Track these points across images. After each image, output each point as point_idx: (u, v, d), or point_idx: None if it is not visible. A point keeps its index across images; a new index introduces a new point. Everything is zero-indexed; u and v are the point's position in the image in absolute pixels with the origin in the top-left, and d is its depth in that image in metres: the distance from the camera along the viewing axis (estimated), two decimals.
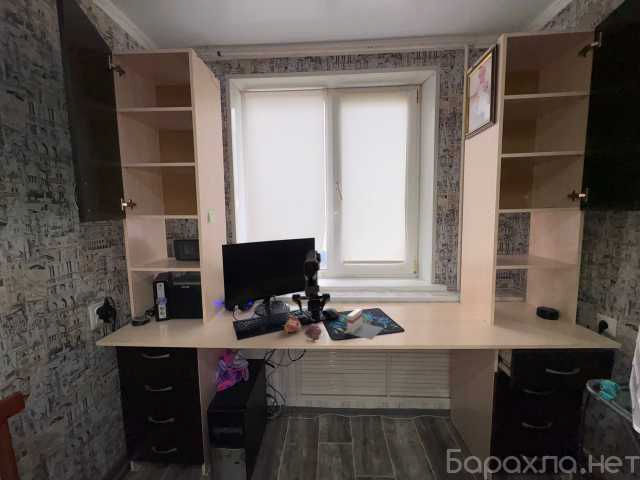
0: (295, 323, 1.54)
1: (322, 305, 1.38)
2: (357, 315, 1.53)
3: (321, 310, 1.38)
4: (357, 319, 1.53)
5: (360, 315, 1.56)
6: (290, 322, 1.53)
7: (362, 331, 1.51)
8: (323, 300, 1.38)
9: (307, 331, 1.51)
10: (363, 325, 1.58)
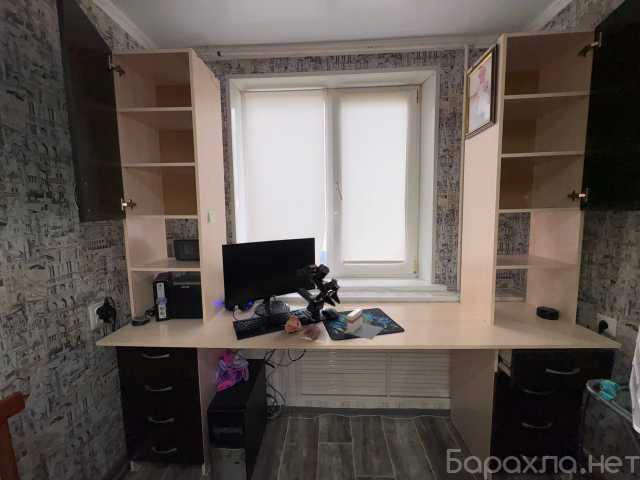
0: (295, 323, 1.54)
1: (337, 295, 1.63)
2: (357, 315, 1.53)
3: (338, 299, 1.62)
4: (357, 319, 1.53)
5: (360, 315, 1.56)
6: (290, 322, 1.53)
7: (362, 331, 1.51)
8: (336, 291, 1.64)
9: (306, 331, 1.51)
10: (363, 325, 1.58)
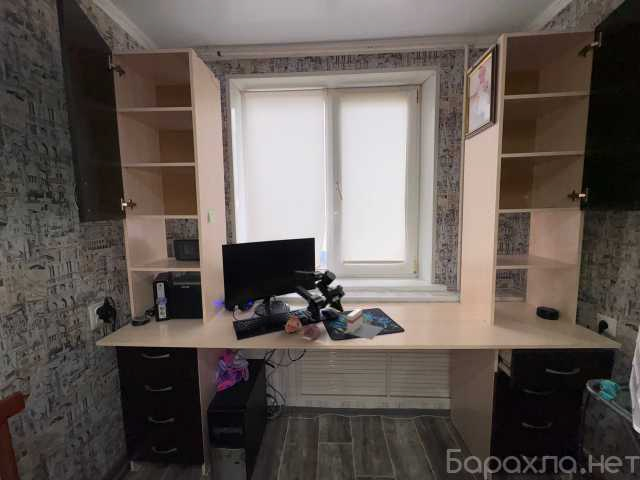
0: (296, 323, 1.54)
1: (340, 303, 1.60)
2: (357, 315, 1.53)
3: None
4: (357, 319, 1.53)
5: (360, 315, 1.56)
6: (291, 322, 1.53)
7: (362, 331, 1.51)
8: (339, 299, 1.60)
9: (306, 331, 1.51)
10: (363, 325, 1.58)
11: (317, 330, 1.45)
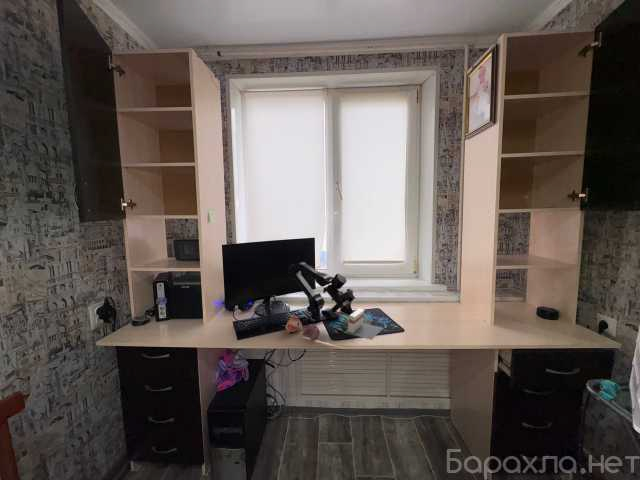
0: (296, 323, 1.54)
1: (350, 307, 1.56)
2: (359, 316, 1.53)
3: (352, 312, 1.55)
4: (358, 320, 1.53)
5: (362, 315, 1.56)
6: (291, 322, 1.53)
7: (362, 331, 1.51)
8: (350, 303, 1.57)
9: (305, 332, 1.51)
10: (363, 325, 1.58)
11: (316, 330, 1.45)
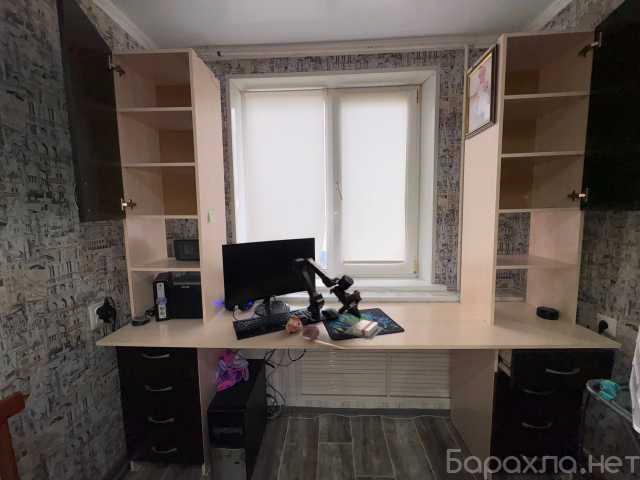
0: (296, 323, 1.54)
1: (357, 309, 1.54)
2: None
3: (359, 313, 1.53)
4: None
5: None
6: (291, 322, 1.53)
7: None
8: (357, 304, 1.55)
9: (305, 332, 1.50)
10: None
11: (316, 330, 1.45)
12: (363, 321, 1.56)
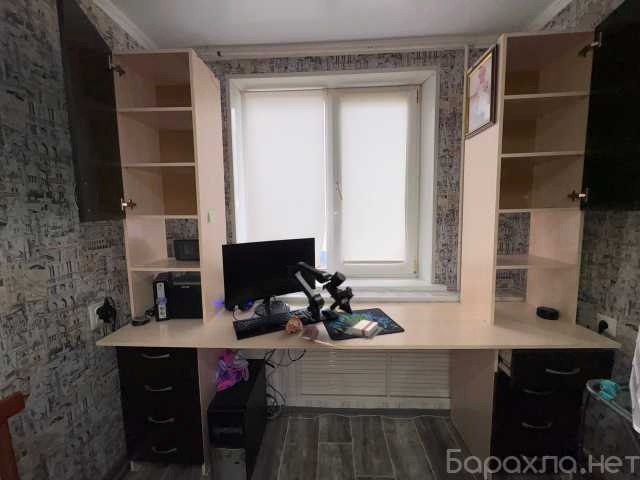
0: (296, 323, 1.55)
1: (349, 305, 1.57)
2: None
3: (351, 309, 1.56)
4: None
5: None
6: (292, 322, 1.53)
7: None
8: (349, 300, 1.57)
9: (304, 332, 1.50)
10: None
11: (316, 330, 1.45)
12: (363, 321, 1.56)
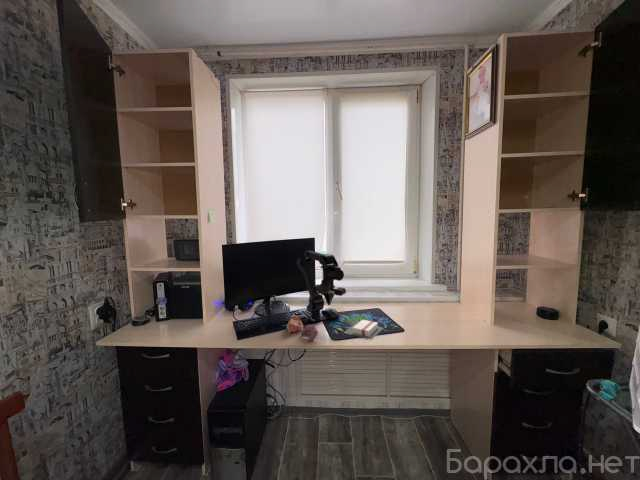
0: (297, 323, 1.55)
1: (329, 298, 1.55)
2: None
3: (328, 301, 1.56)
4: None
5: None
6: (292, 322, 1.53)
7: None
8: (328, 295, 1.54)
9: (303, 332, 1.50)
10: None
11: (314, 331, 1.44)
12: (363, 321, 1.56)
